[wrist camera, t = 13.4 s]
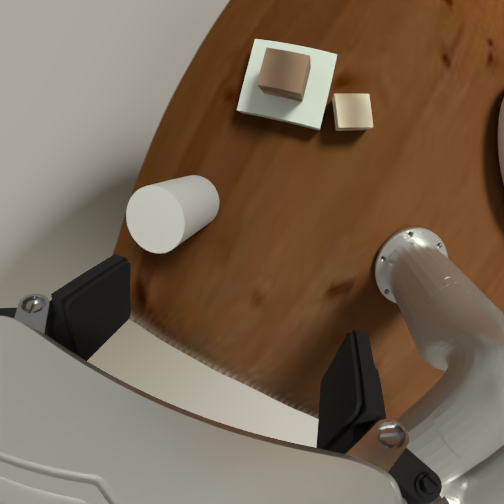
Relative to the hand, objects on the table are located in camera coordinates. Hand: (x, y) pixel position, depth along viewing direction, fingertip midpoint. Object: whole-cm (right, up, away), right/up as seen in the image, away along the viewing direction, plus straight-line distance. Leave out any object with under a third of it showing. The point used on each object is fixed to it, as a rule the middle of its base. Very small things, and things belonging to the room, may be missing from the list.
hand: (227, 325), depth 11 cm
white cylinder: (-8, +11, +31) cm, 34 cm away
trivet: (+6, +26, +22) cm, 34 cm away
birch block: (+14, +21, +22) cm, 34 cm away
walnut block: (+5, +25, +19) cm, 32 cm away
